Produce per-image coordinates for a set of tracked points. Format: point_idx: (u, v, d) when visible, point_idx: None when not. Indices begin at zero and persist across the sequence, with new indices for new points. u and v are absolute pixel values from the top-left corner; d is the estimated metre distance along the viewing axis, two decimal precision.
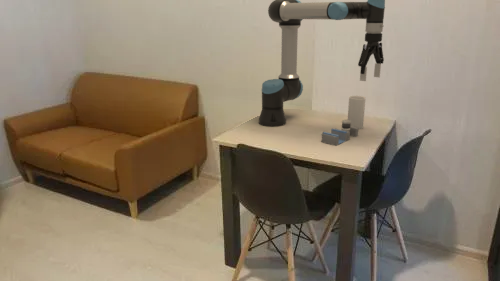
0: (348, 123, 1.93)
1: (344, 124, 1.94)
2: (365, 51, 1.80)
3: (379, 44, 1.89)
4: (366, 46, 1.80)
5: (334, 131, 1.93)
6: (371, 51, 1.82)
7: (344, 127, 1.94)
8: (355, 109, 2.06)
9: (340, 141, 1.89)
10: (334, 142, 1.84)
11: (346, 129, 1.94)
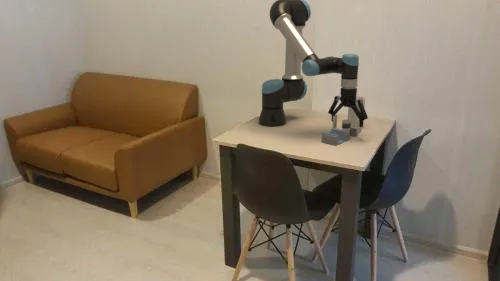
0: (348, 123, 1.93)
1: (344, 124, 1.94)
2: None
3: None
4: None
5: (334, 131, 1.93)
6: (340, 103, 1.93)
7: (344, 127, 1.94)
8: None
9: (340, 141, 1.89)
10: (334, 142, 1.84)
11: (346, 129, 1.94)
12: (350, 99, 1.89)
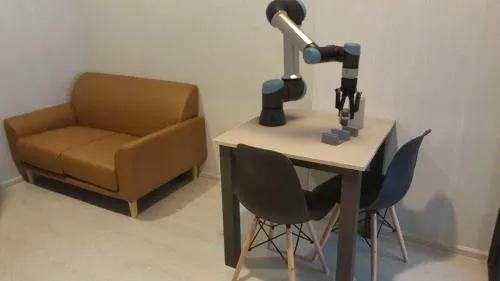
0: (348, 112, 1.92)
1: (344, 112, 1.92)
2: None
3: None
4: None
5: (334, 131, 1.93)
6: None
7: (344, 116, 1.93)
8: None
9: (340, 141, 1.89)
10: (334, 142, 1.84)
11: (346, 118, 1.93)
12: (351, 88, 1.87)
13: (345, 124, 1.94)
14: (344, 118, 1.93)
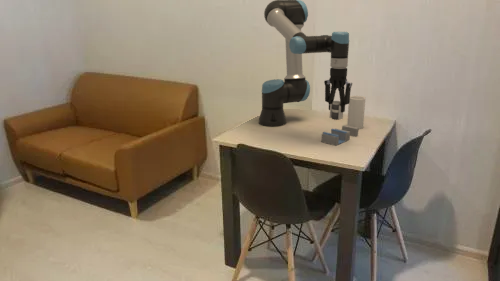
0: (338, 104, 1.83)
1: (334, 105, 1.83)
2: None
3: None
4: None
5: (334, 131, 1.93)
6: None
7: (334, 108, 1.83)
8: (355, 109, 2.06)
9: (340, 141, 1.89)
10: (334, 142, 1.84)
11: (337, 110, 1.83)
12: (341, 78, 1.79)
13: (336, 117, 1.84)
14: (335, 111, 1.84)
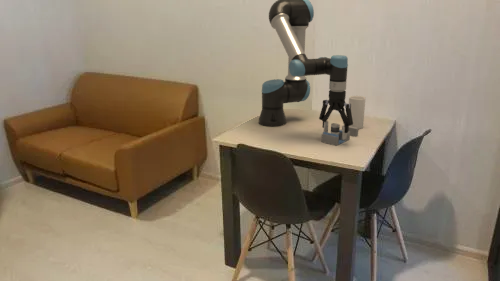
0: (337, 127, 1.86)
1: (333, 128, 1.87)
2: None
3: None
4: None
5: None
6: (329, 107, 1.86)
7: (333, 131, 1.87)
8: (355, 109, 2.06)
9: (340, 141, 1.89)
10: (334, 142, 1.84)
11: (335, 133, 1.87)
12: (339, 102, 1.82)
13: None
14: (333, 133, 1.87)
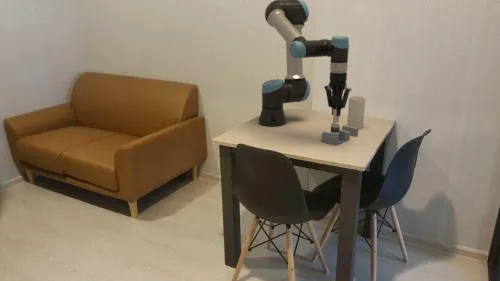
0: (337, 127, 1.86)
1: (333, 128, 1.87)
2: None
3: None
4: None
5: None
6: (332, 91, 1.83)
7: (333, 131, 1.87)
8: (355, 109, 2.06)
9: (340, 141, 1.89)
10: (334, 142, 1.84)
11: (335, 133, 1.87)
12: (341, 83, 1.79)
13: None
14: (333, 133, 1.87)
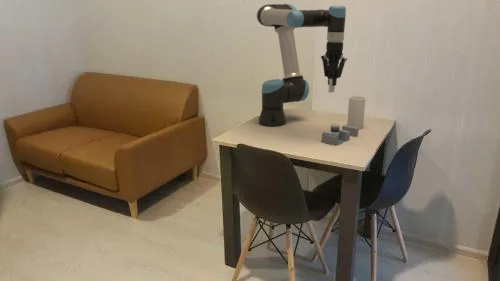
0: (337, 127, 1.86)
1: (333, 128, 1.87)
2: None
3: None
4: None
5: None
6: None
7: (333, 131, 1.87)
8: (355, 109, 2.06)
9: (340, 141, 1.89)
10: (334, 142, 1.84)
11: (335, 133, 1.87)
12: (337, 52, 1.82)
13: None
14: (333, 133, 1.87)
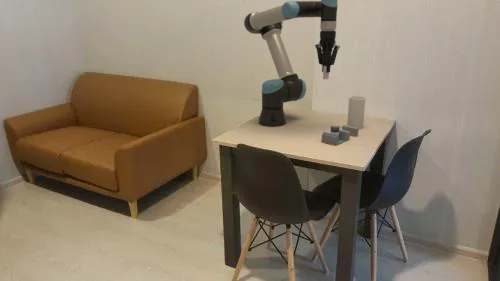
0: (337, 127, 1.86)
1: (333, 128, 1.87)
2: None
3: None
4: None
5: None
6: (322, 49, 1.96)
7: (333, 131, 1.87)
8: (355, 109, 2.06)
9: (340, 141, 1.89)
10: (334, 142, 1.84)
11: (335, 133, 1.87)
12: (330, 40, 1.92)
13: None
14: (333, 133, 1.87)
